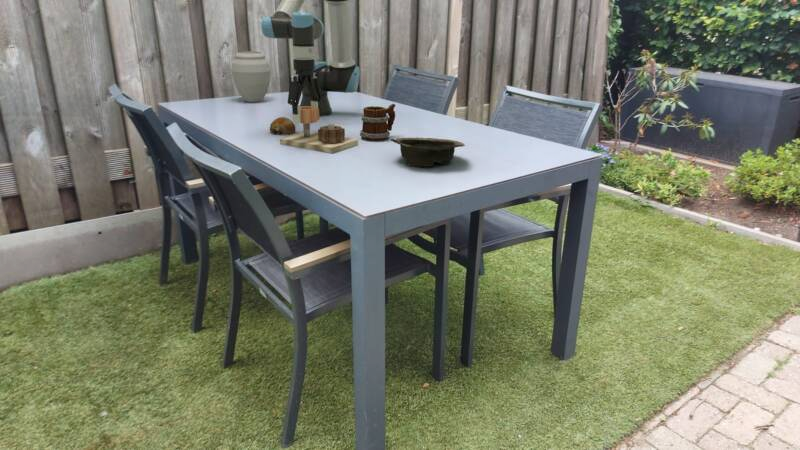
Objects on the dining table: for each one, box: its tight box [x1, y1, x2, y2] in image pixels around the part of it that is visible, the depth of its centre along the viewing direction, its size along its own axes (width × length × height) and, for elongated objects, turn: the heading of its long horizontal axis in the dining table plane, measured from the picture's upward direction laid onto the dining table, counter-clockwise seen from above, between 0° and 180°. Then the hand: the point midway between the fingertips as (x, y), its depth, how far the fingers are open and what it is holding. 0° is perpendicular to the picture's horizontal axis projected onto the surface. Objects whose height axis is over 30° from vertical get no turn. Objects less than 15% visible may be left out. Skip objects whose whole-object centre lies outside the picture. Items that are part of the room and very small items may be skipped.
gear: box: [292, 106, 320, 125], centre depth 209 cm, size 10×10×5 cm
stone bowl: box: [390, 137, 466, 168], centre depth 191 cm, size 25×25×9 cm
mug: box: [359, 103, 396, 142], centre depth 220 cm, size 12×14×15 cm
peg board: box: [279, 123, 359, 155], centre depth 209 cm, size 24×16×8 cm, turn 60°
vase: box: [230, 50, 272, 103], centre depth 287 cm, size 20×20×24 cm
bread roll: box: [269, 116, 296, 136], centre depth 227 cm, size 10×10×8 cm
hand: (306, 120), depth 210 cm, fingers closed on gear, 10 cm apart
